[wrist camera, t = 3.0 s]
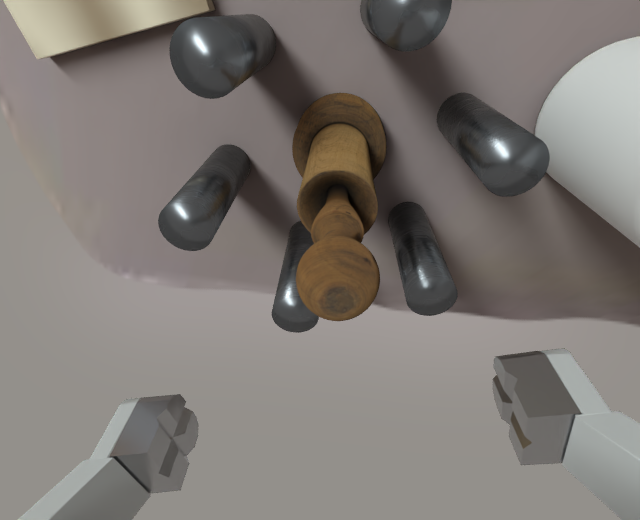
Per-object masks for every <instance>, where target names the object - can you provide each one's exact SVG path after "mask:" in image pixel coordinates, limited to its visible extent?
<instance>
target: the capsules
mask: <svg viewBox="0 0 640 520" xmlns="http://www.w3.org/2000/svg"><path fill="white" fill-rule="evenodd" d="M451 3H452V0H361V5H360V13H361V18H362V21H363V23H364V25H365V27H366V28H367V29H368V30H369V31H370V32H371V33H372V34H374V35H375V36H376V37H378V38H379V39H380V40H381V41H383V42H384V43H385V44H387V45H388V46H390V47H391V48H393V49H396V50H399V51H414V50H417V49H420V48H422V47H424V46H426V45H427V44H429V43H430V42H431V41H433V40H434V39H435V38H436V37H437V36H438V34H439V33H440V32H441V30H442V29H443V27H444V26H445V24H446V21H447V19H448V16H449V13H450V9H451ZM275 49H276V39H275V35H274V32H273V30H272V28H271V26H270V25H269V24H268V23H267V21H265V20H264V19H263V18H261V17H259V16H257V15H253V14H246V15H230V16H213V17H196V18H191V19H188V20H186V21H184V22H183V23H182V24H180V25H179V26H178V27H177V29H176V30H175V32H174V34H173V36H172V39H171V42H170V59H171V64H172V67H173V69H174V71H175V74H176V75H177V77H178V79H179V80H180V81H181V83H182V84H183V85H184V86H185V87H186V88H187V89H188V90H190V91H191V92H193V93H194V94H196V95H198V96H201V97H204V98H210V99H214V98H220V97H223V96H225V95H227V94H228V93H230V92H231V91H232V90H234V89H235V88H236V87H238V86H239V85H240V84H242V83H243V82H244V81H246V80H247V79H248V78H250V77H251V76H252V75H253V74H255V73H256V72H257V71H259V70H260V69H261V68H263V67H264V66H265V65H267V64H268V63H269V62H270V61H271V59H272V58H273V56H274V53H275ZM437 125H438V128H439V130H440V131H441V132H442V134H443V135H444V136H445V137H446V139H447V140H448V141H449V142H450V143H451V145H452V146H453V147H454V148H455V149H456V151H457V152H458V153H459V154H460V156H461V157H462V158H463V159H464V160H465V162H466V163H467V164H468V165H469V167H470V168H471V169H472V170H473V171H474V173H475V174H476V175H477V176H478V178H479V179H480V180H481V181H482V182H483V184H484V185H485V186H486V187H487V188H488V190H490V191H491V192H492V193H494V194H496V195H499V196H515V195H519V194H522V193H524V192H526V191H528V190H530V189H531V188H532V187H534V186H535V185H536V184H537V183H538V182H539V181H540V180H541V179H542V177H543V176H544V174H545V173H546V171H547V169H548V166H549V161H550V155H549V150H548V148H547V146H546V144H545V143H544V142H543V141H542V140H541V139H539V138H538V137H536V136H535V135H533V134H531V133H530V132H528V131H527V130H525V129H524V128H522V127H521V126H519V125H518V124H516V123H515V122H513V121H512V120H510V119H508V118H507V117H505V116H504V115H502V114H501V113H499V112H498V111H496V110H495V109H493V108H492V107H490V106H488V105H487V104H485V103H484V102H482V101H481V100H479V99H478V98H476V97H475V96H473V95H471V94H468V93H459V94H455V95H453V96H451V97H450V98H448V99H447V100H446V101H445V102H444V103H443V104H442V106H441V107H440V109H439V111H438V115H437ZM249 172H250V161H249V158H248V156H247V155H246V153H245V152H244V151H243V150H242V149H240V148H239V147H237V146H234V145H222V146H220V147H218V148H217V149H216V150H215V151H214V152H213V153H212V154H211V156H210V157H209V158H208V159H207V160H206V161H205V162H204V163H203V165H202V166H201V167H200V168H199V169H198V170H197V171H196V173H195V174H194V175H193V176H192V177H191V178H190V179H189V180H188V182H187V183H186V184H185V185H184V186H183V187H182V188H181V189H180V191H179V192H178V193H177V194H176V195H175V196H174V197H173V198H172V200H171V201H170V202H169V203H168V204H167V205H166V206H165V208H164V209H163V210H162V211H161V213H160V215H159V219H158V224H159V228H160V231H161V233H162V234H163V236H164V237H165V238H166V240H167V241H169V242H170V243H171V244H172V245H174V246H176V247H178V248H180V249H183V250H188V251H197V250H201V249H203V248H205V247H207V246H208V245H209V244H210V242H211V241H212V239H213V237H214V235H215V234H216V232H217V230H218V228H219V226H220V225H221V223H222V221H223V219H224V217H225V216H226V214H227V212H228V210H229V208H230V207H231V205H232V203H233V201H234V199H235V198H236V196H237V194H238V192H239V190H240V189H241V187H242V185H243V183H244V181H245V180H246V178H247V176H248V174H249ZM388 222H389V227H390V231H391V235H392V240H393V244H394V249H395V253H396V257H397V262H398V266H399V271H400V275H401V280H402V284H403V288H404V293H405V297H406V302H407V305H408V307H409V308H410V309H411V310H412V311H414V312H415V313H417V314H420V315H427V316H428V315H429V316H431V315H437V314H440V313H443V312H445V311H447V310H448V309H449V308H451V307H452V306H453V304H454V303H455V301H456V299H457V289H456V287H455V284H454V282H453V279H452V277H451V275H450V272H449V270H448V267H447V265H446V262H445V260H444V258H443V255H442V253H441V250H440V248H439V246H438V243H437V241H436V238H435V236H434V234H433V231H432V229H431V226H430V224H429V222H428V219H427V217H426V214H425V212H424V210H423V208H422V207H421V206H420V205H418V204H416V203H413V202H405V203H401V204H399V205H397V206H396V207H394V208H393V209H392V211H391V212H390V214H389V218H388ZM313 244H314V242H313V240H312V237H311V233H310V232H309V231H308V230H307V229H306V228H305V226H304V225H303V223H302V222H301V221H299V222H297V223H296V224H294V225H293V226H292V228H291V230H290V234H289V238H288V243H287V247H286V252H285V256H284V260H283V265H282V269H281V274H280V278H279V283H278V287H277V291H276V296H275V300H274V305H273V309H272V318H273V320H274V322H275V323H276V324H277V325H278V326H279V327H280V328H282V329H284V330H286V331H290V332H304V331H307V330H310V329H311V328H313V327H314V326H315V325H316V324H317V322H318V318H319V316H317V315H315V314H314V313H313V312H311V311H310V310H309V309H308V308H307V307H306V306H305V304H304V303H303V301H302V300H301V298H300V296H299V293H298V290H297V285H296V272H297V267H298V264H299V262H300V260H301V258H302V256H303V255H304V253H305V252H306V251H307V250H308V249H309V248H310V247H311V246H312V245H313Z"/></svg>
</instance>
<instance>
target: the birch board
mask: <svg viewBox="0 0 640 520" xmlns="http://www.w3.org/2000/svg"><path fill="white" fill-rule="evenodd" d="M3 1H4V2H5V4H6V6H7V8H8V9H9V11H10V13H11V15H12V16H13V18H14V20H15V22H16V23H17V25H18V27H19V29H20V30H21V32H22V34H23V35H24V37H25V39H26V41H27V42H28V44H29V46H30V48H31V49H32V51H33V53H34V55H35V56H36V58H37V59H42V58H48V57H52V56H56V55H59V54H63V53H66V52H70V51H73V50H77V49H80V48H84V47H88V46H91V45H95V44H98V43H102V42H105V41H109V40H112V39H116V38H119V37H123V36H126V35H130V34H133V33H137V32H140V31H144V30H147V29H151V28H154V27H158V26H161V25H165V24H168V23H172V22H176V21H179V20H183V19H186V18H190V17H193V16H197V15H200V14H204V13H207V12H211V11H214V10H215V8H214V5H213V2H212V0H3Z"/></svg>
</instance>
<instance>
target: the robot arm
mask: <svg viewBox="0 0 640 520" xmlns="http://www.w3.org/2000/svg"><path fill="white" fill-rule="evenodd" d="M494 369H495V371H496V374H497V375H496V376H495V377H494V378H493V393H494V399H495V402H496V405H497V408H498V411H499V413H500V416H501V418H502V419H503V420H504V421H506V422H507V423H508V424H509V425H510V430H509V438H510V440H511V443H512V445H513V447H514V450H515V452H516V455H517V457H518V459H519V462H520V464H521V465H531V464H532V465H533V464H553V463H562V466H563V467H564V468H565V469H567V470H568V471H569V472H570V473H571V474H572V475H573V476H574V477H575V478H576V479H578V480H579V481H580V482H581V483H582V484H583V485H584V486H585V487H586V488H587V489H589V490H590V491H591V492H592V493H593V494H594V495H595V496H596V497H597V498H599V500H601V501H602V502H603V503H604V504H605V505H606V506H607V507H608V508H609V509H610V510H612V511H613V512H614V513H615V514H616V515H617V516H618V517H619V518H620V519H621V520H640V424H639V423H638V422H637V421H635V420H633V419H631V418H630V417H628V416H627V415H625V414H624V413H622V412H620V411H611V410H610V408H609V407H608V406H607V404H606V403H605V401H604V400H603V398H602V397H601V396H600V394H599V393H598V391H597V390H596V389H595V387H594V386H593V384H592V383H591V381H590V380H589V379H588V377H587V376H586V374H585V373H584V371H583V370H582V369H581V367H580V366H579V364H578V363H577V362H576V360H575V359H574V357H573V356H572V355H571V353H570V352H569V351H568V350H566V349H565V348H563V349H555V350H546V351H534V352H526V353H518V354H511V355H503V356H497V357H496V358H495V359H494ZM185 403H186V401H185V400H184V398H183V397H182V396H181V395H180V394H178V395H167V396H156V397H144V398H135V399H126V400H125V401H124V402H122V403H121V404H120V406H119V407H118V409H117V411H116V413H115V414H114V416H113V418H112V420H111V422H110V423H109V425H108V427H107V429H106V431H105V433H104V434H103V436H102V438H101V440H100V441H99V443H98V445H97V447H96V449H95V450H94V453H93V454H92V456H91V458H90V459H88V460H84V461H83V462H82V463H80V464H79V465H78V466H77V467H76V468H75V469H74V470H73V471H71V473H69V474H68V475H67V476H66V477H65V478H64V479H63V480H61V481H60V482H59V483H58V484H57V485H56V486H55V487H54V488H53V489H51V490H50V491H49V492H48V493H47V494H46V495H45V496H44V497H43V498H41V499H40V500H39V501H38V502H37V503H36V504H35V505H34V506H32V507H31V508H30V509H29V510H28V511H27V512H26V513H25V514H24V515H22V516H21V517H20V518H19V519H18V520H132V519H133V518H134V516H135V515H136V514H137V512H138V511H139V510H140V508H141V507H142V506H143V505H144V503H145V502H146V501H147V500H148V498H149V497H150V493H159V492H168V491H178V490H181V487H182V484H183V481H184V477H185V475H186V472H187V469H188V465H189V462H188V459H187V455H188V454H189V452H190V451H191V450H192V449H193V448H194V447H195V444H196V441H197V437H198V422H197V418H196V416H195V414H194V413H193V411H191V410H189V409H187V408H185V407H184V406H185Z"/></svg>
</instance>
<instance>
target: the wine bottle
mask: <svg viewBox="0 0 640 520" xmlns="http://www.w3.org/2000/svg"><path fill="white" fill-rule="evenodd" d="M535 136H536V137H538V138H539V139H541V140H542V141H543V142H544V143H545V144H546V146H547V148H548V150H549V155H550V161H549V166H548V169H547V171H546V172H547V173H548V174H549V175H550V176H551V177H552V178H553V179H554V180H555V181H557V182H558V183H559V184H560V185H562V186H563V187H564V188H565V189H567V190H568V191H569V192H571V193H572V194H573V195H574V196H576V197H577V198H578V199H579V200H581V201H582V202H583V203H584V204H586V205H587V206H588V207H589V208H591V209H592V210H593V211H594V212H596V213H597V214H598V215H599V216H601V217H602V218H603V219H604V220H606V221H607V222H608V223H609V224H611V225H612V226H613V227H614V228H616V229H617V230H618V231H619V232H621V233H622V234H623V235H624V236H626V237H627V238H628V239H629V240H631V241H632V242H633V243H634V244H636V245H637V246H638V247H639V248H640V36H639V37H634V38H630V39H626V40H622V41H618V42H615V43H613V44H610V45H608V46H605V47H603V48H601V49H599V50H597V51H596V52H594V53H592V54H590V55H589V56H587V57H585V58H584V59H583V60H581V61H580V62H579V63H577V64H576V65H575V66H573V67H572V68H571V69H570V70H569V71H568V72H567V73H566V74H565V75H564V76H563V77H562V78H561V79H560V80H559V82H558V83H557V84H556V85H555V87H554V88H553V89H552V91H551V92H550V94H549V95H548V97H547V99H546V100H545V102H544V104H543V106H542V109H541V111H540V113H539V116H538V120H537V123H536V127H535Z"/></svg>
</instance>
